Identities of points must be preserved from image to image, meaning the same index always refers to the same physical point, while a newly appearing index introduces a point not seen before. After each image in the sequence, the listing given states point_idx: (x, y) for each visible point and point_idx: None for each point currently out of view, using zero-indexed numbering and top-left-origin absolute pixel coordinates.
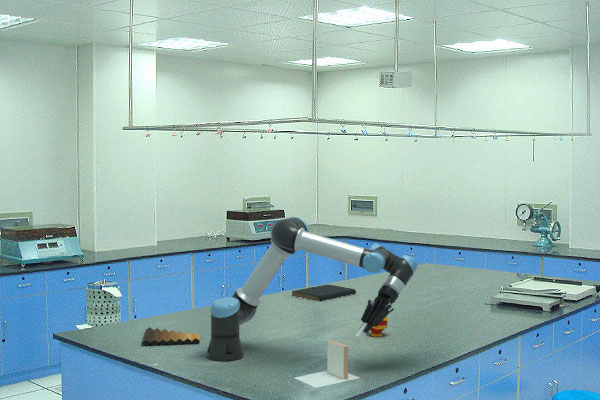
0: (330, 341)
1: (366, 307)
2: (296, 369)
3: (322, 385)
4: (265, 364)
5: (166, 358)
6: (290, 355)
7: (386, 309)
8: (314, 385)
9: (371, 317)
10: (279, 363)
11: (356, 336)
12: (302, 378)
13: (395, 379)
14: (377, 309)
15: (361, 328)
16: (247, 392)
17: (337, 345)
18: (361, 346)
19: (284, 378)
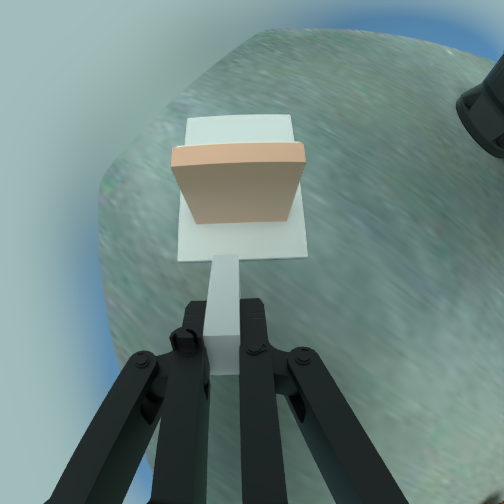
0: (287, 146)
1: (387, 473)
2: (368, 167)
3: (191, 136)
4: (427, 140)
5: (473, 73)
6: (477, 232)
7: (53, 500)
8: (205, 122)
9: (191, 398)
10: (427, 167)
11: (224, 255)
12: (273, 126)
13: (117, 356)
14: (168, 501)
15: (224, 294)
16: (260, 40)
17: (220, 144)
18: (456, 460)
19: (308, 108)
